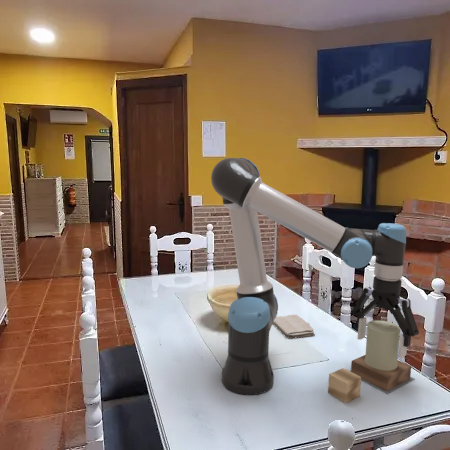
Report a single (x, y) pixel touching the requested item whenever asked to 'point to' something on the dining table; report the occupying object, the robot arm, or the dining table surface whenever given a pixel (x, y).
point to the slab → (381, 374)
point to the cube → (344, 385)
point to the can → (382, 345)
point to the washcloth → (293, 326)
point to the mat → (392, 388)
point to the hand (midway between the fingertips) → (380, 346)
